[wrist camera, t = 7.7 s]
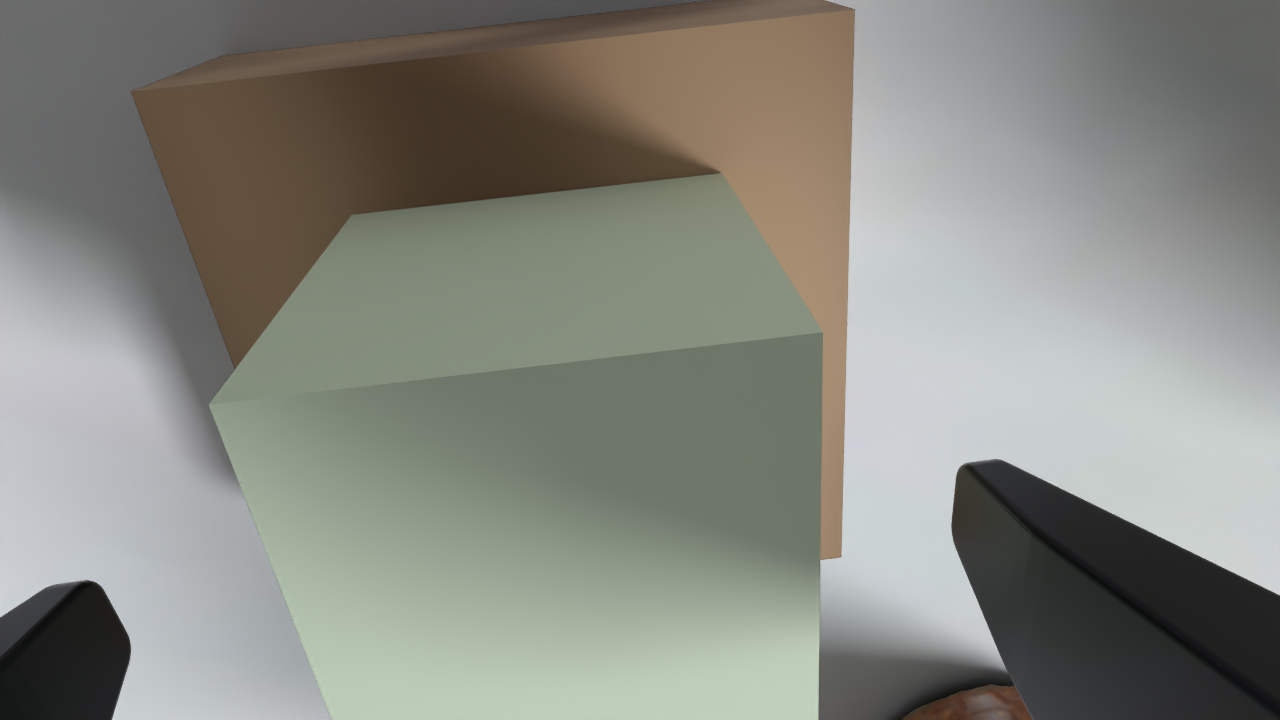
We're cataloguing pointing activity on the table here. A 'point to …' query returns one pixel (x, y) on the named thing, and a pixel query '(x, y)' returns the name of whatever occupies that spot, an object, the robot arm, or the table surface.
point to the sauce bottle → (975, 706)
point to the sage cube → (544, 461)
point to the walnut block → (521, 145)
